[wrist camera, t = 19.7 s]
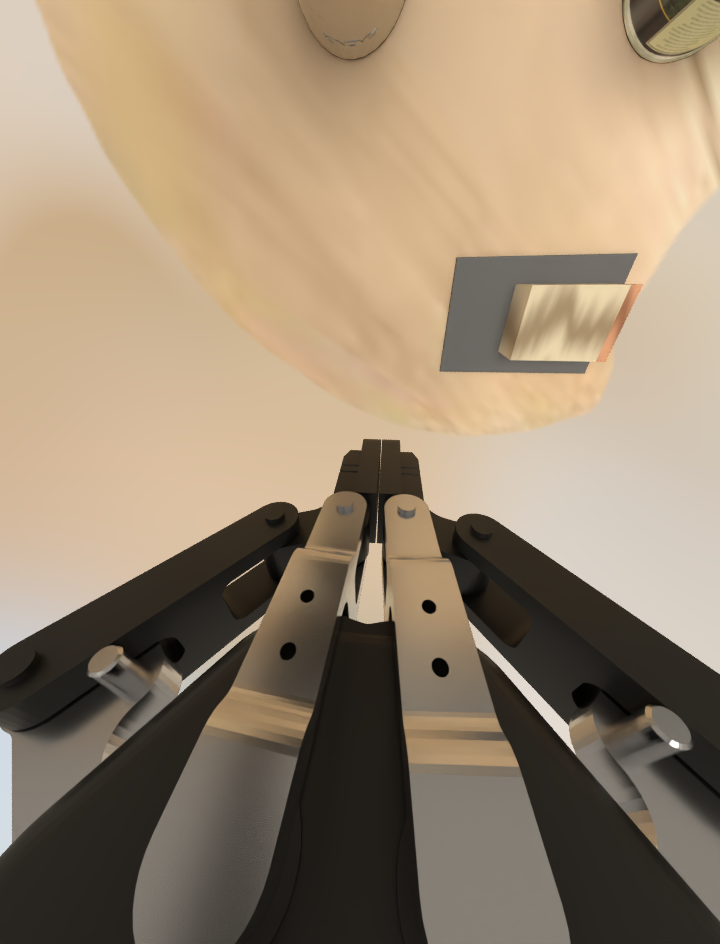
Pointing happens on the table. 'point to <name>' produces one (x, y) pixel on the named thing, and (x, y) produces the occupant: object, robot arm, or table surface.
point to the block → (566, 321)
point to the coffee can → (671, 27)
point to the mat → (489, 297)
